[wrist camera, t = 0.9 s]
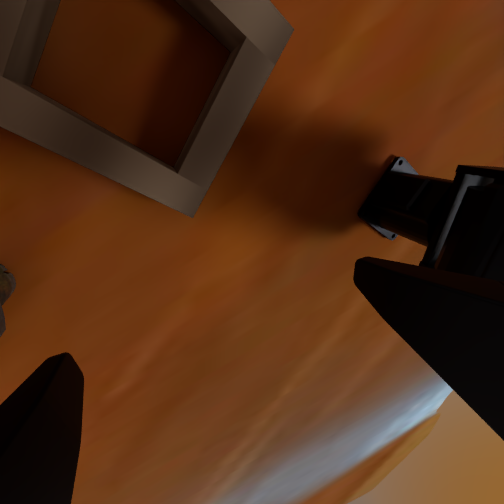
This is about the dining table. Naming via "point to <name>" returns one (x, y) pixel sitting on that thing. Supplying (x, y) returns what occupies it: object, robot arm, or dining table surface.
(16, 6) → the socket block
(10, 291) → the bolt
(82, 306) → the dining table surface
